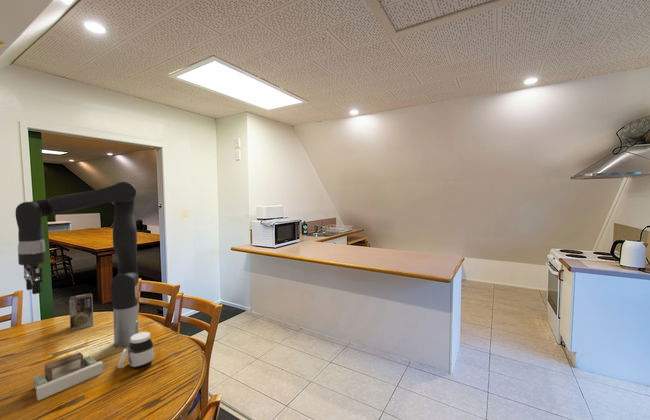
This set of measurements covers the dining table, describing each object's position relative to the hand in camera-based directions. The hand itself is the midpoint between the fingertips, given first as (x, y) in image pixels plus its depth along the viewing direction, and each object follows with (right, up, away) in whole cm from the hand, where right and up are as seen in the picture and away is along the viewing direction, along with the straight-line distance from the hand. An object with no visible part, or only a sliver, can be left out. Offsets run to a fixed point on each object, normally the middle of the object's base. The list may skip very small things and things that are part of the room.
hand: (33, 291), depth 112 cm
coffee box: (-11, -29, +35) cm, 46 cm away
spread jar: (+40, -31, +2) cm, 50 cm away
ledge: (+22, -31, -9) cm, 39 cm away
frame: (+19, -31, -7) cm, 37 cm away
